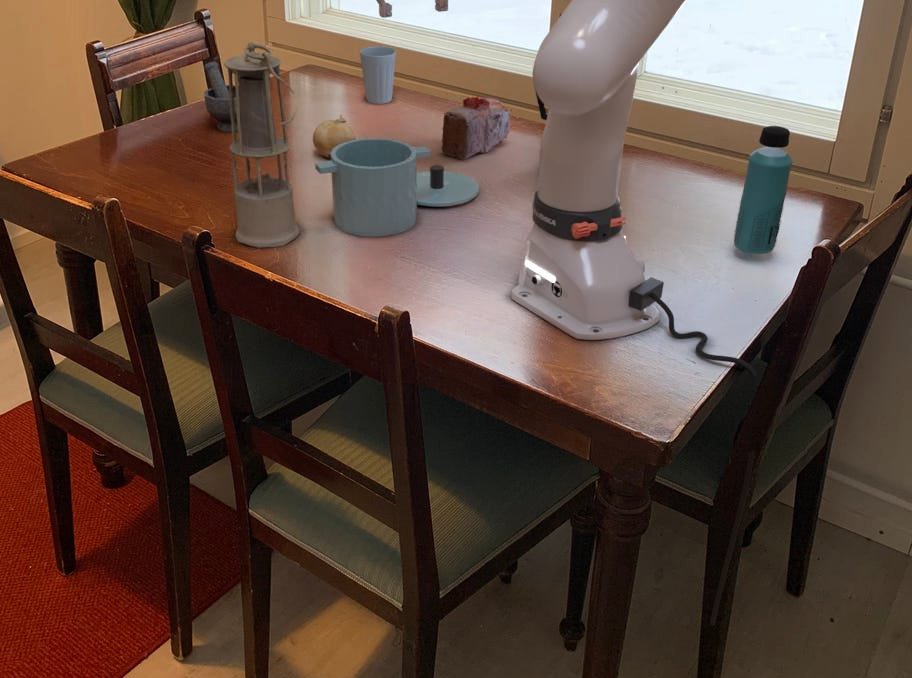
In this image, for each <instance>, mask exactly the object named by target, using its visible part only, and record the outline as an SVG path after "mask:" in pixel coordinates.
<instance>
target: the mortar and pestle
mask: <svg viewBox="0 0 912 678" xmlns="http://www.w3.org/2000/svg"><path fill="white" fill-rule="evenodd" d="M218 66H219V64H218V62H217V61H209V62H207V63H206V64H205V65H203V68H204V70H205V71H206V72H207V75H208V78H209V81H210V84H211V88H208V89H205V90H204V95H203V96H204V97H203V98H204V104H205V107H206V110H207V112H208V114H209V115H210V116H211V118H213V119H214V120H216V128H217V130H220V131H222V132H232V123H231V111H230V92H229V84H226V82H225V80H224V79H223V76H222V73H221V72H220V70H219V67H218ZM233 98H234V114H235V128H236V132H238V125H237V107H236V87H235V84H233ZM239 104H240V97H239ZM240 119H241V109H240ZM241 131H242V124H241Z"/></svg>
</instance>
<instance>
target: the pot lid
mask: <svg viewBox="0 0 912 678" xmlns="http://www.w3.org/2000/svg"><path fill="white" fill-rule="evenodd" d="M479 190H480V186H479V183H478V182H477V181H476V180H475V179H473V178H472V177H470V176H468V175H466V174H462V173H458V172H454V171H445V166H443V165H441V164H433V165H430V167H429V170H427V171H426V170H425V171H419V172H418V171H417V206H423V207H424V206H425V207H451V206H457V205H461V204H465V203H467V202H470V201H472V200H473V199H475V198H476V197H477V196H478V195H479Z"/></svg>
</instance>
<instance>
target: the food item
mask: <svg viewBox="0 0 912 678" xmlns="http://www.w3.org/2000/svg"><path fill="white" fill-rule="evenodd" d="M462 102H463V103H462V106H459V107H458V108H454V109H452V110H448V111H446V112H444V113H443V122H442V123H443V125H442V134H441V148H440V149H441V153H442V154H444V155H446V156H450V157H452V158H453V157H454V158H458V159H459V160H461V161H464V160H466V159H467V158H470V157H472V156H474V155H476V154H478V153H481V154H486V153H489V151H491V150H492V148H494V147H496V146H497V145H498V144H502V143H503V141H504V140H505V139H507V138H508V137H509V134H510V127H511V125H510V124H511V122H510V117H511V113H510V111H509V110H508V109H507V108H506V106H505V104H503V102H502V101H500V100H498V99H495V98H493V97H482V98H479V96H477V97H475V96H472V97H469V96H467V98H465V99H462Z"/></svg>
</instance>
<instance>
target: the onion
mask: <svg viewBox="0 0 912 678" xmlns="http://www.w3.org/2000/svg"><path fill="white" fill-rule="evenodd" d="M351 140H356V133H355V131H354V129H353V128H352V127H351V126H350V125H349V124H348V123H347V119H346V118H345V117H343V114H341V115H339V118H338V119H328V120H324V121H322V122H321V123H319V124H318V125H317V127H316V128H315V129H314V131H313V133H312V144H313V147H314V148H315V150H316V151H317V152H318V153H319V154H320V155H321V156H323V157H325V158H328V159H331V156H330V154H331V152H332V150H333V148H334V147H336V146H338V145H339V144H341V143H344V142H347V141H351Z"/></svg>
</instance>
